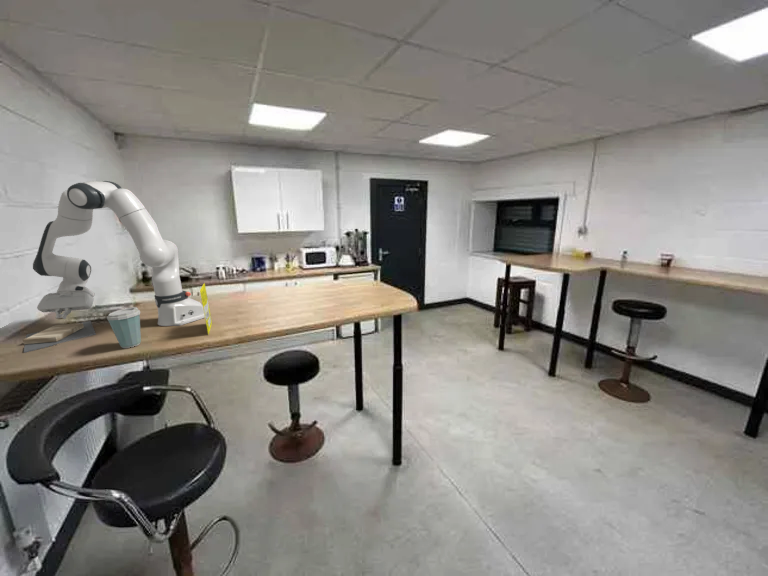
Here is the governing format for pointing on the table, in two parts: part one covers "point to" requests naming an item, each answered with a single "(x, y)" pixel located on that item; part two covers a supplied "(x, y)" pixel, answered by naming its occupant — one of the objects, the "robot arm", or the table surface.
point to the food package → (206, 307)
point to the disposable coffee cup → (126, 326)
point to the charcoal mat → (81, 333)
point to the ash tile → (53, 334)
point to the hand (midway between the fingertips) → (60, 318)
